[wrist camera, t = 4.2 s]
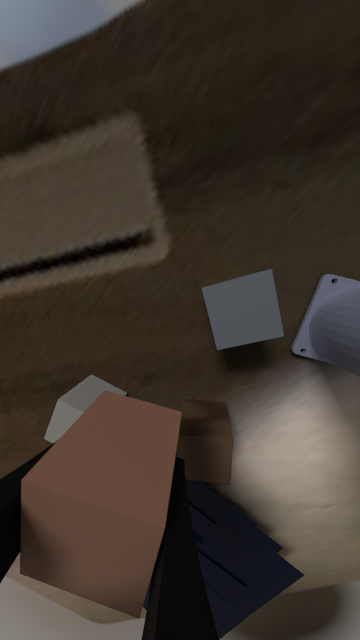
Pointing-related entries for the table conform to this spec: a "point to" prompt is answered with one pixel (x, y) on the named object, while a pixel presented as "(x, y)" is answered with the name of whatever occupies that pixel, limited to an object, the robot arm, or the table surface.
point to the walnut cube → (205, 441)
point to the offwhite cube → (76, 405)
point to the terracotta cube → (101, 502)
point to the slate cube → (243, 310)
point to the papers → (233, 559)
